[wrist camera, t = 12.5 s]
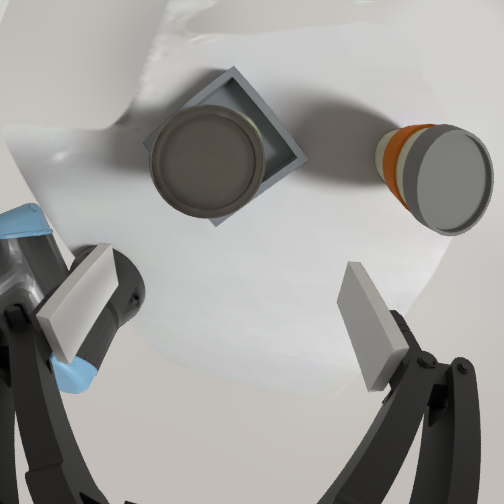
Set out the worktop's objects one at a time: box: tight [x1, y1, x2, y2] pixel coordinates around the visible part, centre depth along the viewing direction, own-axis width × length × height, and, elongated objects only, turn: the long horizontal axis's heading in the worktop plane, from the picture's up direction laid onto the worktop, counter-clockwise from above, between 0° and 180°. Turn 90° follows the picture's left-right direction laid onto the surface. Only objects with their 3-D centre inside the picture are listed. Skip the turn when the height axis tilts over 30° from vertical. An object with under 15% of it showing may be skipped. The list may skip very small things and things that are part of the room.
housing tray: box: [143, 66, 309, 227], centre depth 35 cm, size 15×15×4 cm
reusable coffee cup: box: [375, 124, 494, 236], centre depth 30 cm, size 13×12×15 cm
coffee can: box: [149, 104, 265, 219], centre depth 30 cm, size 10×10×14 cm
